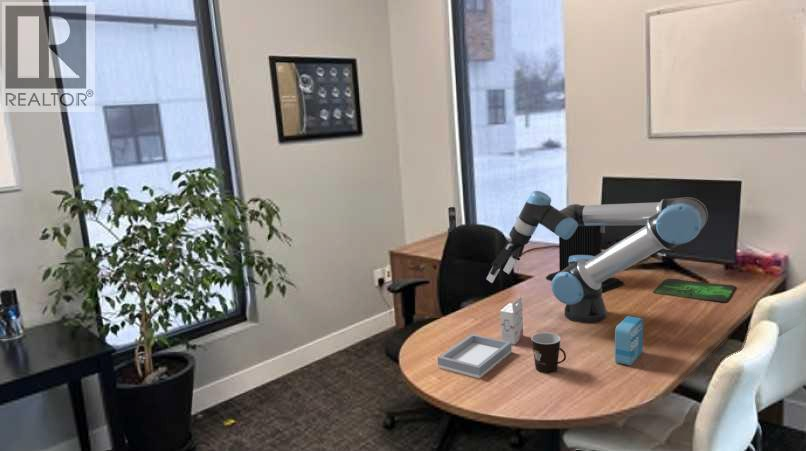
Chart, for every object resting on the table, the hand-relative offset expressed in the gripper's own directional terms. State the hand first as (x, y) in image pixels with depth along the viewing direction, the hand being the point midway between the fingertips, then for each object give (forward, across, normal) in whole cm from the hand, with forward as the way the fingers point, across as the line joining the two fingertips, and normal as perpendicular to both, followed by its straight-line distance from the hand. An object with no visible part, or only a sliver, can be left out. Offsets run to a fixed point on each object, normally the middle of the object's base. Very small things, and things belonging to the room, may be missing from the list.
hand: (497, 276), depth 217 cm
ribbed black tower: (+6, -54, +19) cm, 58 cm away
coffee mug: (-1, +33, +38) cm, 50 cm away
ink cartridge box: (+8, +17, +20) cm, 28 cm away
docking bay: (+10, +37, +18) cm, 42 cm away
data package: (-11, +13, +54) cm, 56 cm away
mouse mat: (-15, -60, +57) cm, 84 cm away
